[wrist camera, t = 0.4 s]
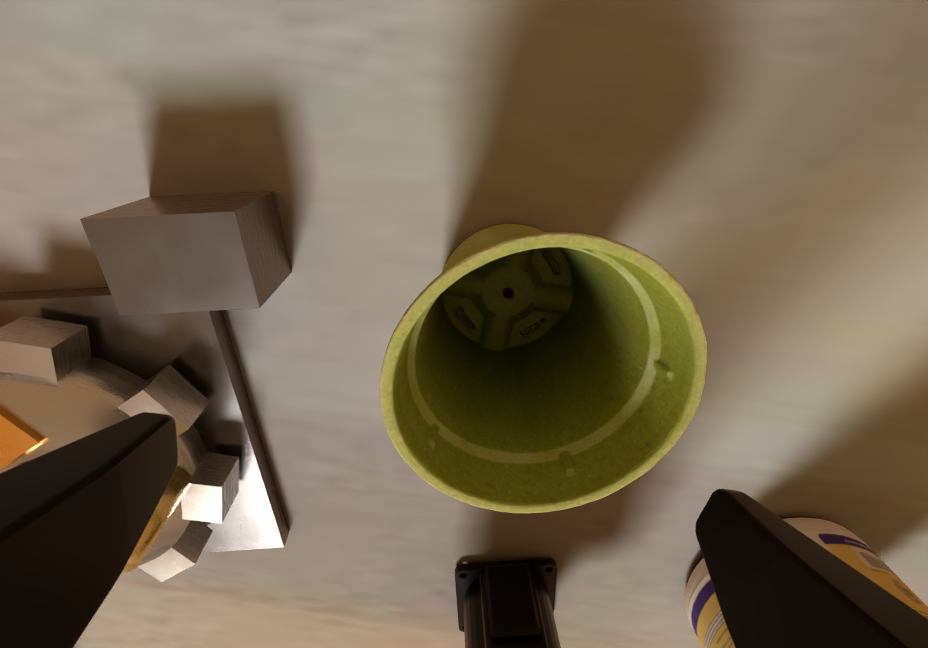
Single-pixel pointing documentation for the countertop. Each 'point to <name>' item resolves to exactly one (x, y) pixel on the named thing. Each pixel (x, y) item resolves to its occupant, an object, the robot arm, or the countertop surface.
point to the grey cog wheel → (101, 405)
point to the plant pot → (542, 371)
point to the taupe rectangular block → (191, 252)
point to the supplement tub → (825, 533)
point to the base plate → (202, 364)
